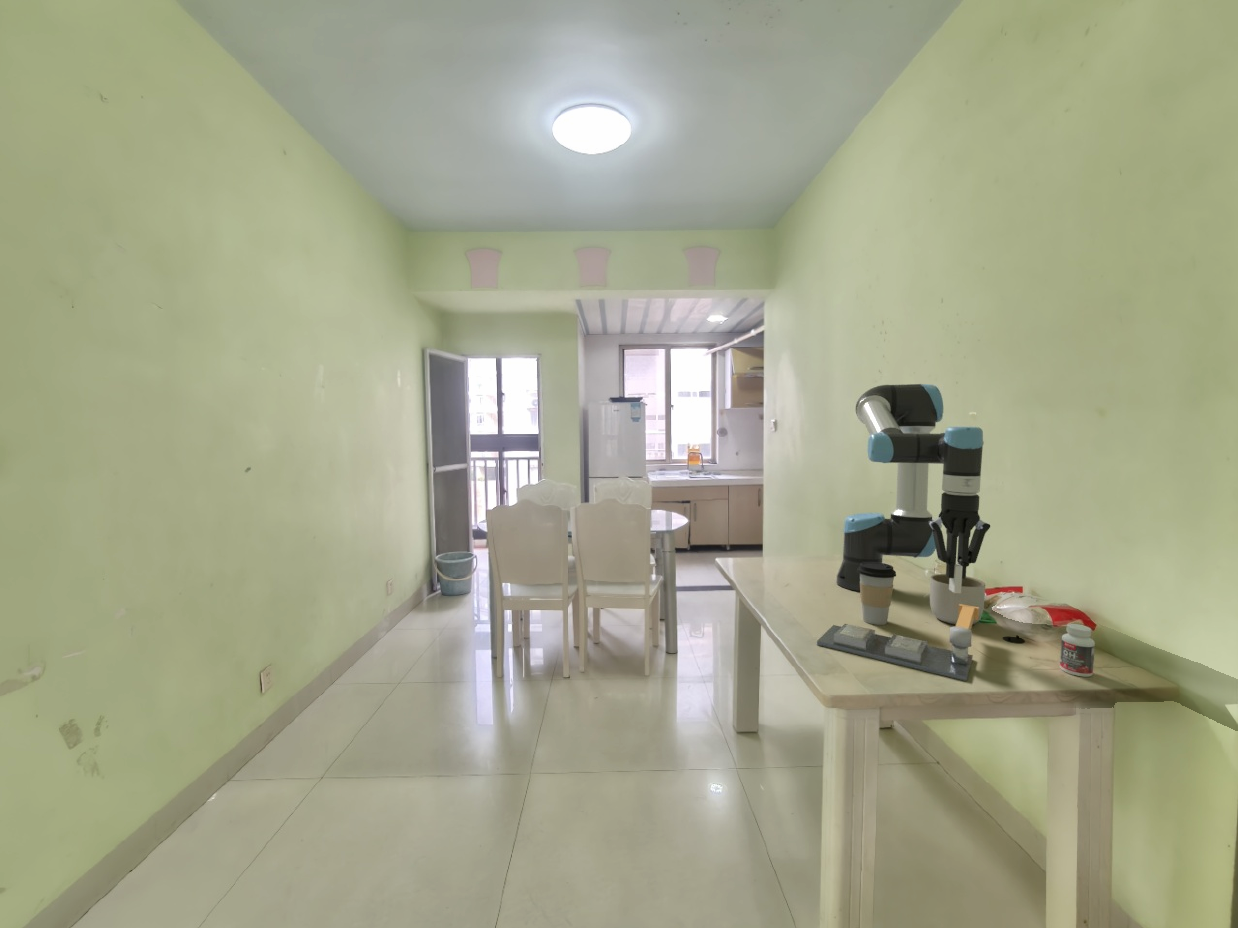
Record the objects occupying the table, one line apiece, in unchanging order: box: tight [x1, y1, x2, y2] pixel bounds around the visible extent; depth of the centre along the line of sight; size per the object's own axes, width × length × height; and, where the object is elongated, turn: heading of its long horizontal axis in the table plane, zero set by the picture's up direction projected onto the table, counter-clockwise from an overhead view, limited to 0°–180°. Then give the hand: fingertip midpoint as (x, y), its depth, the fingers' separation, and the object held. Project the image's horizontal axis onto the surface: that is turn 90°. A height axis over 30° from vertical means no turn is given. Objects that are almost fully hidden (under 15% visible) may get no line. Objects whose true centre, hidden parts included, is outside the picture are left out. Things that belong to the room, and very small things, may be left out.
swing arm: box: [948, 604, 979, 648], centre depth 125 cm, size 22×4×3 cm, turn 143°
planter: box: [929, 573, 986, 625], centre depth 146 cm, size 12×12×11 cm
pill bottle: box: [1059, 623, 1096, 678], centre depth 115 cm, size 5×5×10 cm
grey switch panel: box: [816, 623, 974, 682], centre depth 125 cm, size 13×30×5 cm, turn 53°
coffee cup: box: [857, 562, 897, 626], centre depth 145 cm, size 9×9×15 cm
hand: (954, 591), depth 130 cm, fingers closed
